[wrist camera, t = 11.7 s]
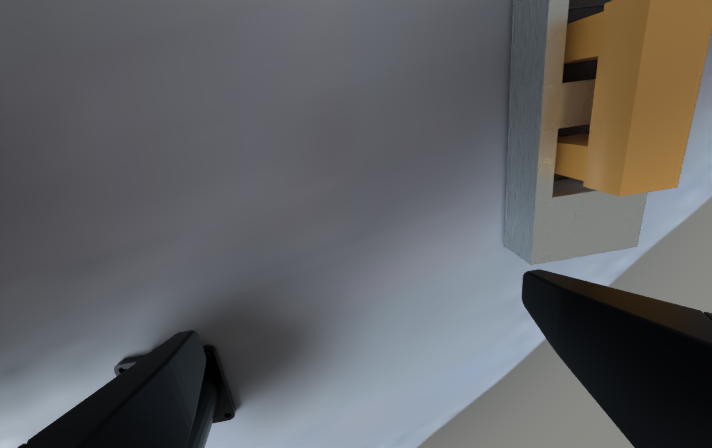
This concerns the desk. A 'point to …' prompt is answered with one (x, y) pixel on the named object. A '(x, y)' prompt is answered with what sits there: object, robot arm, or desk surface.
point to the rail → (554, 149)
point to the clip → (637, 93)
